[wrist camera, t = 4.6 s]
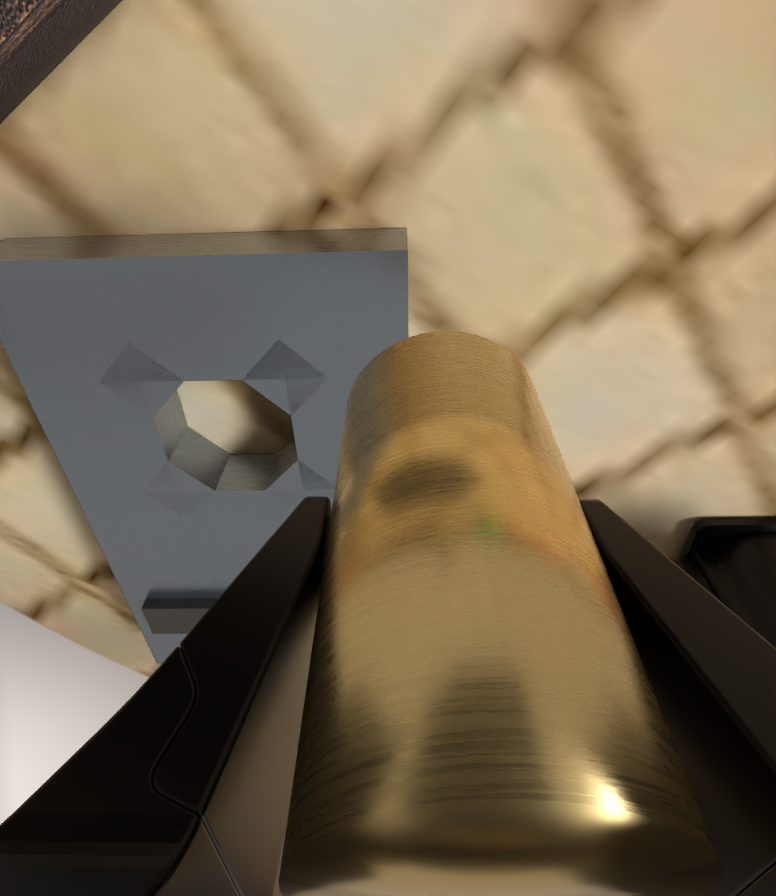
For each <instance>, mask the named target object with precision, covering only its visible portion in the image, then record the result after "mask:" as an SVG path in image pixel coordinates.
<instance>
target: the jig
mask: <svg viewBox="0 0 776 896" xmlns="http://www.w3.org/2000/svg"><path fill="white" fill-rule="evenodd" d="M406 338H408V248H407V228H387V229H350V230H312V231H275V232H237V233H200V234H162V235H125V236H87V237H50V238H12V239H5V240H3V241H1V242H0V342H1V344H2V346H3V348H4V350H5V352H6V354H7V356H8V358H9V360H10V362H11V364H12V366H13V368H14V370H15V372H16V375H17V377H18V379H19V381H20V383H21V385H22V387H23V389H24V391H25V393H26V395H27V397H28V399H29V401H30V403H31V405H32V407H33V409H34V412H35V414H36V416H37V418H38V420H39V422H40V424H41V426H42V428H43V430H44V432H45V434H46V436H47V438H48V440H49V442H50V444H51V446H52V449H53V451H54V453H55V455H56V457H57V459H58V461H59V463H60V465H61V467H62V469H63V471H64V473H65V475H66V477H67V479H68V481H69V483H70V486H71V488H72V490H73V492H74V494H75V496H76V498H77V500H78V502H79V504H80V506H81V508H82V510H83V512H84V514H85V516H86V518H87V520H88V522H89V525H90V527H91V529H92V531H93V533H94V535H95V537H96V539H97V541H98V543H99V545H100V547H101V549H102V551H103V553H104V555H105V557H106V559H107V562H108V564H109V566H110V568H111V570H112V572H113V574H114V576H115V578H116V580H117V582H118V584H119V586H120V588H121V590H122V592H123V594H124V596H125V599H126V601H127V603H128V605H129V607H130V609H131V611H132V613H133V615H134V617H135V619H136V621H137V623H138V625H139V627H140V629H141V631H142V633H143V636H144V638H145V640H146V642H147V644H148V646H149V648H150V650H151V652H152V654H153V656H154V658H155V660H156V662H157V663H163V662H164V661H165V659H166V658H167V657H168V656H169V655H170V654H171V652H172V651H173V650H174V649H175V648H176V647H180V642H181V641H182V640H183V639H184V638H185V636H186V635H187V634H188V633H189V632H190V631H191V629H192V628H193V627H194V626H195V625H196V624H197V622H198V621H199V620H200V619H201V618H202V617H203V615H204V614H205V613H206V612H207V611H208V610H209V608H210V607H211V606H212V605H213V604H214V603H215V601H216V600H217V599H218V598H219V597H220V596H221V594H222V593H223V592H224V591H225V590H226V589H227V587H228V586H229V585H230V584H231V583H232V582H233V580H234V579H235V578H236V577H237V576H238V575H239V573H240V572H241V571H242V570H243V569H244V568H245V566H246V565H247V564H248V563H249V562H250V561H251V559H252V558H253V557H254V556H255V555H256V554H257V552H258V551H259V550H260V549H261V548H262V547H263V545H264V544H265V543H266V542H267V541H268V540H269V538H270V537H271V536H272V535H273V534H274V533H275V531H276V530H277V529H278V528H279V527H280V526H281V524H282V523H283V522H284V521H285V520H286V519H287V517H288V516H289V515H290V514H291V513H292V512H293V510H294V509H295V508H296V507H297V506H298V505H299V503H300V502H301V501H302V500H303V499H304V498H305V497H308V496H321V497H328V498H329V499H330V502H331V512H332V505H333V498H334V491H335V484H336V477H337V470H338V463H339V456H340V449H341V442H342V435H343V428H344V421H345V414H346V407H347V402H348V397H349V394H350V391H351V388H352V386H353V384H354V382H355V380H356V378H357V377H358V375H359V374H360V373H361V371H362V370H363V368H364V367H365V366H366V365H367V364H368V363H369V362H370V361H371V360H372V359H373V358H374V357H375V356H377V355H378V354H379V353H380V352H382V351H383V350H385V349H386V348H388V347H390V346H391V345H393V344H395V343H397V342H399V341H402V340H404V339H406ZM209 380H243V381H244V382H245V383H247V384H248V385H249V386H251V387H252V388H254V389H255V390H256V391H258V392H259V393H260V394H262V395H263V396H264V397H266V398H267V399H269V400H270V401H271V402H273V403H274V404H275V405H277V406H278V407H280V408H281V409H282V410H284V411H285V412H286V413H288V414H289V415H291V420H292V426H293V432H294V437H293V438H292V439H291V440H290V441H289V442H288V443H287V444H286V445H285V446H284V447H283V448H282V449H281V450H280V451H279V452H278V453H277V454H238V455H230V454H228V453H227V452H225V451H224V450H222V449H221V448H219V447H218V446H216V445H215V444H213V443H212V442H210V441H209V440H207V439H206V438H204V437H203V436H201V435H200V434H198V433H197V432H195V431H193V430H192V429H190V428H189V427H188V426H187V423H186V420H185V416H184V413H183V410H182V406H181V403H180V399H179V396H178V393H177V389H178V387H179V386H180V385H181V384H182V383H183V381H209ZM180 648H181V647H180Z"/></svg>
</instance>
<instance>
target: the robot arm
mask: <svg viewBox="0 0 776 896" xmlns="http://www.w3.org/2000/svg"><path fill="white" fill-rule="evenodd" d="M579 502H580V504H581V507H582V510H583V512H584V515H585V517H586V520H587V522H588V525H589V528H590V530H591V533H592V535H593V538H594V540H595V543H596V545H597V548H598V551H599V553H600V556H601V558H602V561H603V563H604V566H605V568H606V571H607V574H608V576H609V579H610V581H611V584H612V586H613V589H614V591H615V594H616V597H617V599H618V602H619V604H620V607H621V609H622V612H623V615H624V617H625V620H626V622H627V625H628V627H629V630H630V632H631V635H632V638H633V640H634V643H635V645H636V648H637V650H638V653H639V655H640V658H641V661H642V663H643V666H644V668H645V671H646V673H647V676H648V678H649V681H650V684H651V686H652V689H653V691H654V694H655V696H656V699H657V702H658V704H659V707H660V709H661V712H662V714H663V717H664V719H665V722H666V725H667V727H668V730H669V732H670V735H671V737H672V740H673V742H674V745H675V748H676V750H677V753H678V755H679V758H680V760H681V763H682V765H683V768H684V771H685V773H686V776H687V778H688V781H689V783H690V786H691V789H692V791H693V794H694V796H695V799H696V801H697V804H698V806H699V809H700V812H701V814H702V817H703V819H704V822H705V824H706V827H707V829H708V832H709V835H710V837H711V840H712V842H713V845H714V847H715V850H716V852H717V855H718V858H719V860H720V863H721V866H722V868H723V881H722V883H721V885H720V887H719V889H718V891H717V892H716V893H715V894H714V895H713V896H776V519H711V520H701V521H699V522H697V523H696V524H695V525H694V526H693V528H692V530H691V533H690V535H689V538H688V540H687V542H686V545H685V547H684V550H683V552H682V554H681V557H680V558H679V560H678V562H677V564H675V563H674V562H673V561H672V560H670V559H669V558H668V557H667V556H666V555H664V554H663V553H662V552H661V551H660V550H659V549H657V548H656V547H655V546H654V545H653V544H651V543H650V542H649V541H648V540H647V539H646V538H644V537H643V536H642V535H641V534H640V533H638V532H637V531H636V530H635V529H634V528H633V527H631V526H630V525H629V524H628V523H627V522H625V521H624V520H623V519H622V518H621V517H620V516H618V515H617V514H616V513H615V512H614V511H612V510H611V509H610V508H609V507H608V506H607V505H605V504H604V503H603V502H601V501H600V500H596V499H579ZM330 519H331V502H330V499H329V498H328V497H321V496H308V497H305V498H304V499H303V500H302V501H301V502H300V503H299V505H298V506H297V507H296V508H295V509H294V510H293V512H292V513H291V514H290V515H289V516H288V517H287V519H286V520H285V521H284V522H283V523H282V524H281V526H280V527H279V528H278V529H277V530H276V531H275V533H274V534H273V535H272V536H271V537H270V538H269V540H268V541H267V542H266V543H265V544H264V545H263V547H262V548H261V549H260V550H259V551H258V552H257V554H256V555H255V556H254V557H253V558H252V559H251V561H250V562H249V563H248V564H247V565H246V566H245V568H244V569H243V570H242V571H241V572H240V573H239V575H238V576H237V577H236V578H235V579H234V580H233V582H232V583H231V584H230V585H229V586H228V587H227V589H226V590H225V591H224V592H223V593H222V594H221V596H220V597H219V598H218V599H217V600H216V601H215V603H214V604H213V605H212V606H211V607H210V608H209V610H208V611H207V612H206V613H205V614H204V615H203V617H202V618H201V619H200V620H199V621H198V622H197V624H196V625H195V626H194V627H193V628H192V629H191V631H190V632H189V633H188V634H187V635H186V636H185V638H184V639H183V640H182V641H181V642H180V647H181V648H180V647H176V648H175V649H174V650H173V651H172V652H171V654H170V655H169V656H168V657H167V658H166V659H165V661H164V662H163V663H162V664H161V665H160V666H159V668H158V669H157V670H156V671H155V672H154V673H153V674H152V675H151V676H150V677H149V679H148V680H147V681H146V682H145V683H144V684H143V685H142V686H141V687H140V689H139V690H138V691H137V692H136V693H135V694H134V695H133V696H132V697H131V698H130V699H129V700H128V701H127V702H126V703H125V704H124V706H122V708H120V710H119V711H117V713H116V714H115V715H114V716H113V717H112V718H111V719H110V720H109V721H108V722H107V723H106V724H105V725H104V726H103V727H102V728H101V729H100V730H99V731H98V732H97V733H96V734H95V735H94V736H93V737H91V738H90V739H89V740H88V741H87V742H86V743H85V744H84V745H83V746H82V747H81V748H80V749H79V750H78V751H77V752H76V753H75V754H74V755H73V756H72V757H71V758H70V759H69V760H68V761H67V762H66V763H65V764H64V765H63V766H61V768H59V769H58V770H57V771H56V772H55V773H54V774H53V775H52V776H51V777H50V778H49V779H48V780H47V781H46V782H45V783H44V784H43V785H42V786H41V787H40V788H39V789H38V790H37V791H36V792H35V793H34V794H33V795H31V796H30V797H29V798H28V799H27V800H26V801H25V802H24V803H23V804H22V805H21V806H20V807H19V808H18V809H17V810H16V811H15V812H14V813H13V814H12V815H11V816H9V817H8V818H7V819H6V820H5V821H4V822H3V823H2V824H1V825H0V896H273V891H274V886H275V881H276V876H277V871H278V866H279V861H280V856H281V851H282V846H283V841H284V836H285V831H286V826H287V820H288V813H289V806H290V799H291V792H292V785H293V778H294V771H295V764H296V757H297V750H298V743H299V736H300V729H301V722H302V715H303V708H304V701H305V694H306V687H307V680H308V673H309V666H310V659H311V652H312V645H313V638H314V631H315V624H316V617H317V610H318V603H319V596H320V589H321V582H322V575H323V568H324V561H325V554H326V547H327V540H328V533H329V526H330Z"/></svg>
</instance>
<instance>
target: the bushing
mask: <svg viewBox="0 0 776 896" xmlns="http://www.w3.org/2000/svg"><path fill="white" fill-rule="evenodd" d="M722 881H723V868H722V866H721V863H720V860H719V858H718V855H717V852H716V850H715V847H714V845H713V842H712V840H711V837H710V835H709V832H708V829H707V827H706V824H705V822H704V819H703V817H702V814H701V812H700V809H699V806H698V804H697V801H696V799H695V796H694V794H693V791H692V789H691V786H690V783H689V781H688V778H687V776H686V773H685V771H684V768H683V765H682V763H681V760H680V758H679V755H678V753H677V750H676V748H675V745H674V742H673V740H672V737H671V735H670V732H669V730H668V727H667V725H666V722H665V719H664V717H663V714H662V712H661V709H660V707H659V704H658V702H657V699H656V696H655V694H654V691H653V689H652V686H651V684H650V681H649V678H648V676H647V673H646V671H645V668H644V666H643V663H642V661H641V658H640V655H639V653H638V650H637V648H636V645H635V643H634V640H633V638H632V635H631V632H630V630H629V627H628V625H627V622H626V620H625V617H624V615H623V612H622V609H621V607H620V604H619V602H618V599H617V597H616V594H615V591H614V589H613V586H612V584H611V581H610V579H609V576H608V574H607V571H606V568H605V566H604V563H603V561H602V558H601V556H600V553H599V551H598V548H597V545H596V543H595V540H594V538H593V535H592V533H591V530H590V528H589V525H588V522H587V520H586V517H585V515H584V512H583V510H582V507H581V504H580V502H579V499H578V497H577V494H576V492H575V489H574V487H573V484H572V481H571V479H570V476H569V474H568V471H567V469H566V466H565V464H564V461H563V458H562V456H561V453H560V451H559V448H558V446H557V443H556V441H555V438H554V435H553V433H552V430H551V428H550V425H549V423H548V420H547V417H546V415H545V412H544V410H543V407H542V405H541V402H540V400H539V397H538V394H537V392H536V389H535V387H534V384H533V382H532V379H531V377H530V375H529V374H528V372H527V370H526V369H525V367H524V366H523V365H522V364H521V363H520V361H519V360H518V359H517V358H516V357H515V356H514V355H512V354H511V353H510V352H509V351H508V350H506V349H505V348H503V347H502V346H500V345H499V344H497V343H495V342H492V341H490V340H488V339H486V338H483V337H480V336H477V335H473V334H468V333H463V332H452V331H441V332H430V333H424V334H419V335H416V336H412V337H409V338H406V339H404V340H402V341H399V342H397V343H395V344H393V345H391V346H390V347H388V348H386V349H385V350H383V351H382V352H380V353H379V354H378V355H377V356H375V357H374V358H373V359H372V360H371V361H370V362H369V363H368V364H367V365H366V366H365V367H364V368H363V370H362V371H361V373H360V374H359V375H358V377H357V378H356V380H355V382H354V384H353V386H352V388H351V391H350V394H349V397H348V402H347V407H346V414H345V421H344V428H343V435H342V442H341V449H340V456H339V463H338V470H337V477H336V484H335V491H334V498H333V505H332V512H331V519H330V526H329V533H328V540H327V547H326V554H325V561H324V568H323V575H322V582H321V589H320V596H319V603H318V610H317V617H316V624H315V631H314V638H313V645H312V652H311V659H310V666H309V673H308V680H307V687H306V694H305V701H304V708H303V715H302V722H301V729H300V736H299V743H298V750H297V757H296V764H295V771H294V778H293V785H292V792H291V799H290V806H289V813H288V820H287V827H286V834H285V841H284V848H283V855H282V862H281V869H280V876H279V886H280V891H281V893H282V894H283V896H713V895H714V894H715V893H716V892H717V891H718V889H719V887H720V885H721V883H722Z"/></svg>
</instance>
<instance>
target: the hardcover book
mask: <svg viewBox="0 0 776 896" xmlns="http://www.w3.org/2000/svg"><path fill="white" fill-rule="evenodd" d="M121 1H122V0H0V123H1V122H2V121H3V120H4V119H5V118H6V117H7V116H8V115H9V114H10V113H11V112H12V111H13V110H14V109H15V108H16V107H17V106H18V105H19V104H20V103H21V102H22V101H23V100H24V99H25V98H26V97H27V96H28V95H29V94H30V93H31V92H32V91H33V90H34V89H35V88H36V87H37V86H38V85H39V84H40V83H41V82H42V81H43V80H44V79H45V78H46V77H47V76H48V75H49V74H50V73H51V72H52V71H53V70H54V69H55V68H56V67H57V66H58V65H59V64H60V63H61V62H62V61H63V60H64V59H65V58H66V57H67V56H68V55H69V54H70V53H71V52H72V51H73V49H74V48H75V47H76V46H77V45H78V44H79V43H80V42H81V41H82V40H83V39H84V38H85V37H86V36H87V35H88V34H89V33H90V32H91V31H92V30H93V29H94V28H95V27H96V26H97V25H98V24H99V23H100V22H101V21H102V20H103V19H104V18H105V17H106V16H107V15H108V14H109V13H110V12H111V11H112V10H113V9H114V8H115V7H116V6H117V5H118V4H119V3H120V2H121Z"/></svg>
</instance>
